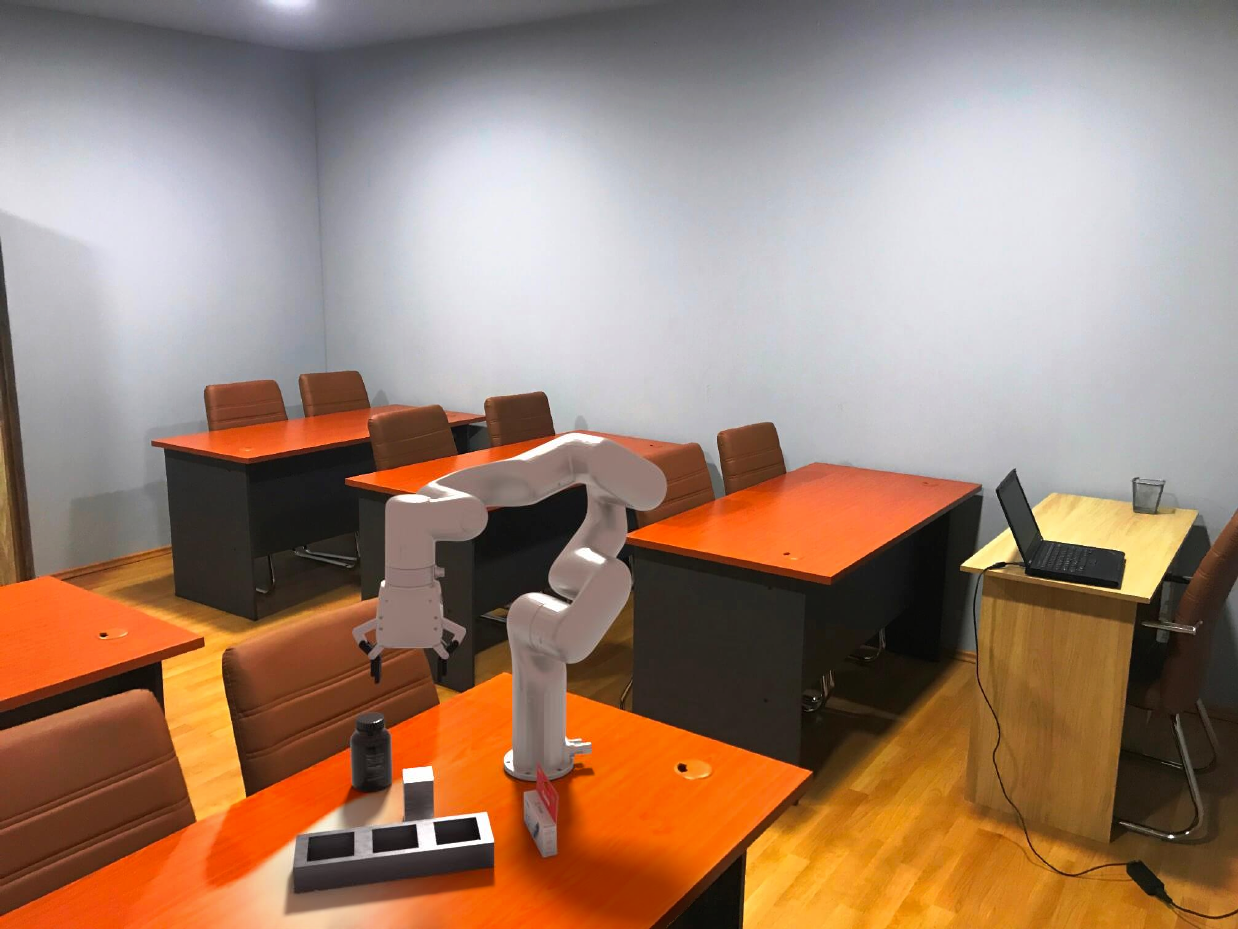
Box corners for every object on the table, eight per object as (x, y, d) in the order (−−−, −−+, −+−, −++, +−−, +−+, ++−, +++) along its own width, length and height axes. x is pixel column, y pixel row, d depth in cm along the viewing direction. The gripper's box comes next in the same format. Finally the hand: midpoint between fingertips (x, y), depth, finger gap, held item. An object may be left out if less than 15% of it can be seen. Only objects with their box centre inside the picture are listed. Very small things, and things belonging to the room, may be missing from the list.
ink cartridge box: (542, 858, 143) (542, 798, 141) (522, 821, 153) (523, 764, 152) (558, 855, 144) (559, 795, 142) (537, 818, 154) (538, 762, 152)
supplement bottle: (398, 775, 167) (396, 710, 165) (384, 794, 160) (383, 727, 158) (360, 772, 168) (358, 708, 166) (345, 792, 161) (343, 725, 159)
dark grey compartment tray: (486, 835, 149) (486, 812, 148) (494, 867, 141) (494, 842, 140) (297, 859, 141) (296, 834, 141) (293, 894, 133) (292, 867, 133)
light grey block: (431, 812, 155) (431, 766, 154) (434, 827, 151) (433, 780, 150) (403, 815, 154) (402, 769, 153) (404, 830, 150) (404, 783, 148)
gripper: (467, 569, 152) (465, 671, 155) (356, 568, 150) (356, 672, 153) (465, 582, 145) (464, 689, 148) (348, 581, 143) (349, 690, 145)
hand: (409, 680), depth 150 cm, fingers open, 9 cm apart
